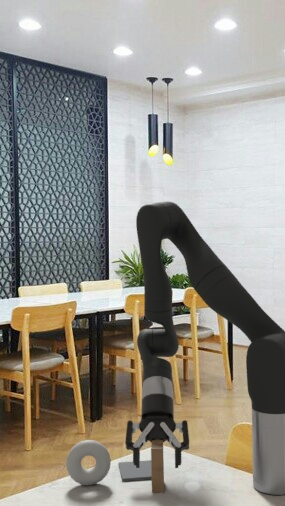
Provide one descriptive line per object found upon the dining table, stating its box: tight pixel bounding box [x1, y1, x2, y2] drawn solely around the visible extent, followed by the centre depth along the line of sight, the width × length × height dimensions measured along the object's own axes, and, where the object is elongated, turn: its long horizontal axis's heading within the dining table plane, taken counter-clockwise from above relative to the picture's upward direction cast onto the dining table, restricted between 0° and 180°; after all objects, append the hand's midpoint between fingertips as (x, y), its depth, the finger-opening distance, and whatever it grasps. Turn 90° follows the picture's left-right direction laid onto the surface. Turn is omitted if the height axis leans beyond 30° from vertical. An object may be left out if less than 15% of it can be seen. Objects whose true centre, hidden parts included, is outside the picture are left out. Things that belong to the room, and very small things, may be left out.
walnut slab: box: [150, 440, 165, 494], centre depth 134 cm, size 6×2×10 cm, turn 177°
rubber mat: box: [117, 459, 152, 482], centre depth 143 cm, size 9×10×1 cm
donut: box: [65, 439, 112, 486], centre depth 136 cm, size 10×4×10 cm, turn 98°
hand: (157, 466), depth 133 cm, fingers open, 8 cm apart
